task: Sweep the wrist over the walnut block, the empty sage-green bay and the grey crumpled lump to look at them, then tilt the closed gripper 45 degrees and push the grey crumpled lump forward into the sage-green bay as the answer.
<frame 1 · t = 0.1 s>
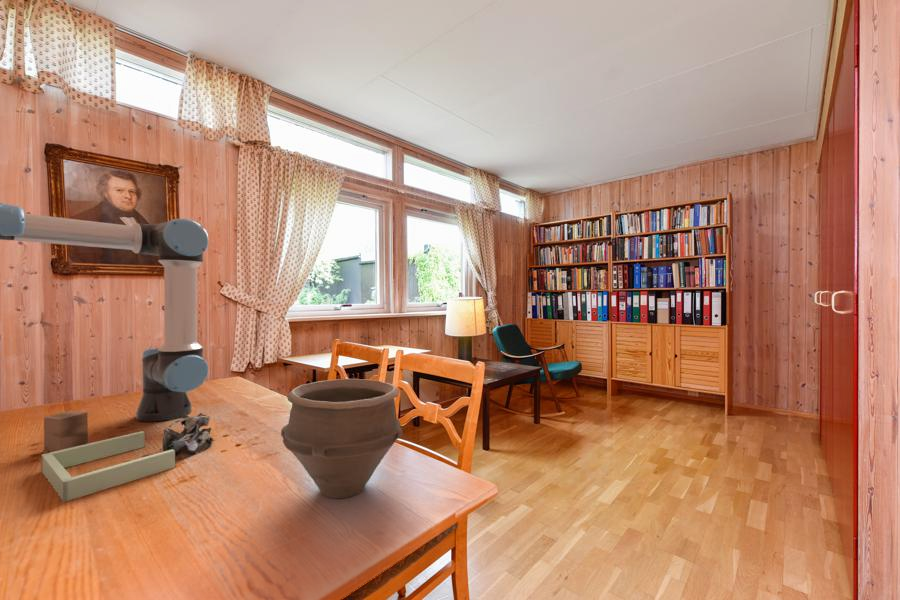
planter: (343, 488, 83), on the table
grey crumpled lump: (190, 447, 104), on the table
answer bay: (109, 469, 90), on the table
walnut block: (66, 448, 102), on the table
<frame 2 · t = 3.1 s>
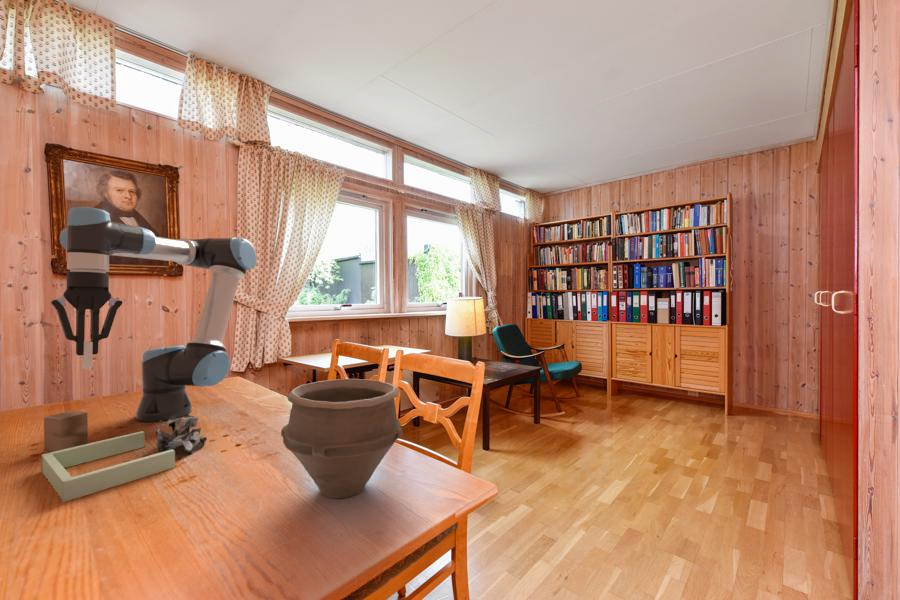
hand: (86, 368, 93), 23 cm above the table, tool pointing down, fingers closed
grey crumpled lump: (181, 448, 103), on the table
everything else where it was.
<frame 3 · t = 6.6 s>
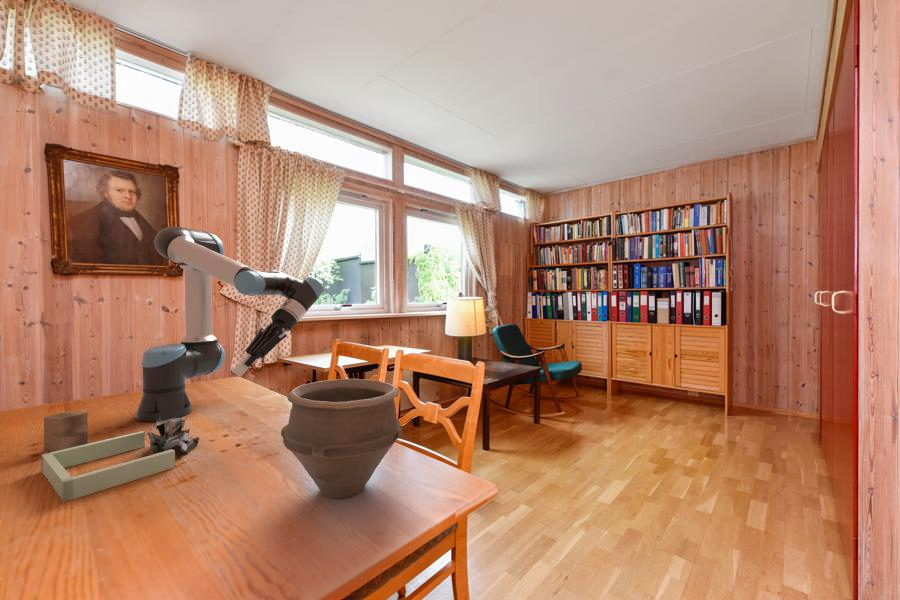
hand: (236, 374, 113), 18 cm above the table, tool tilted 45°, fingers closed
grey crumpled lump: (172, 450, 102), on the table
everything else where it was.
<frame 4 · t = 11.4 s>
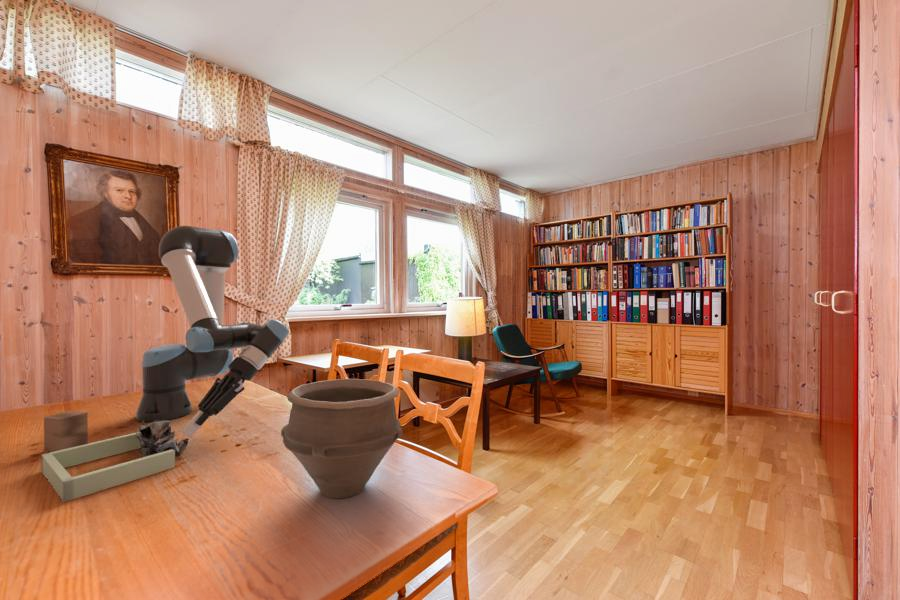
hand: (185, 434, 103), 4 cm above the table, tool tilted 45°, fingers closed
grey crumpled lump: (160, 453, 100), on the table, touching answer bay, gripper
everything else where it was.
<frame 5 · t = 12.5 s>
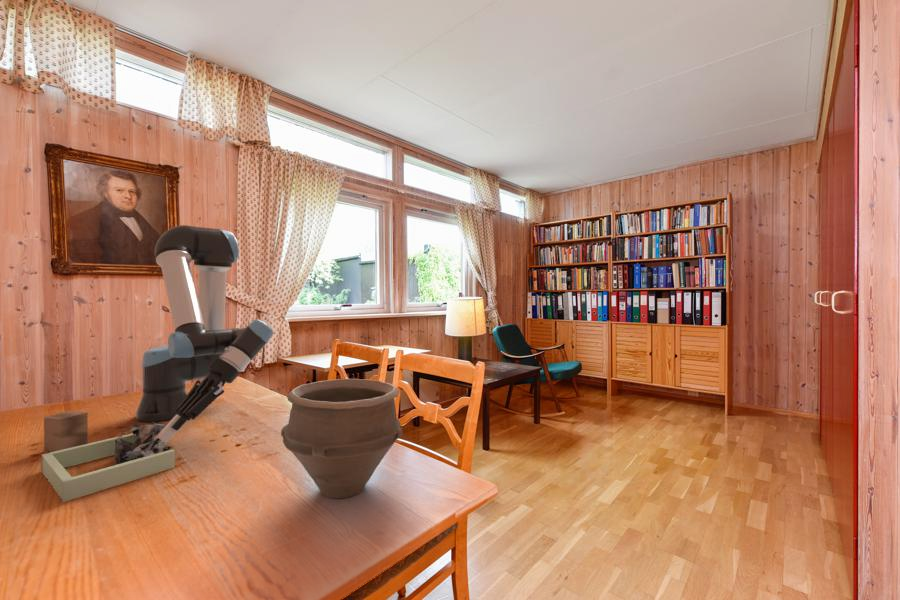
hand: (161, 439, 98), 4 cm above the table, tool tilted 45°, fingers closed
grey crumpled lump: (144, 458, 97), on the table, touching gripper
everything else where it was.
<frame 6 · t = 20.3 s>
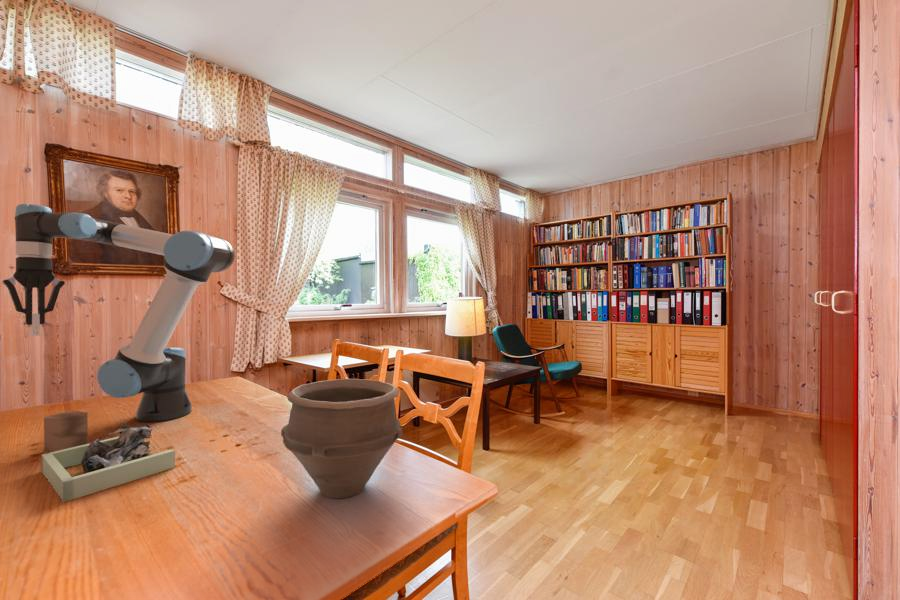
hand: (35, 335, 116), 28 cm above the table, tool pointing down, fingers closed
grey crumpled lump: (121, 463, 94), on the table
everything else where it was.
at the end: grey crumpled lump inside the target area on the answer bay (5.3 cm from its centre), point 0.0 cm above the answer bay's base; grey crumpled lump moved 14.4 cm from its start; grey crumpled lump tilted 0° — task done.
